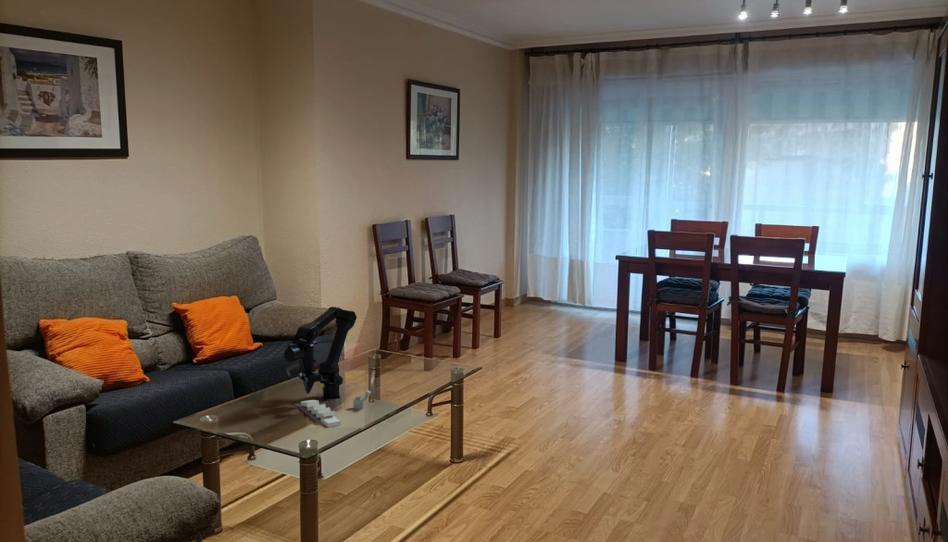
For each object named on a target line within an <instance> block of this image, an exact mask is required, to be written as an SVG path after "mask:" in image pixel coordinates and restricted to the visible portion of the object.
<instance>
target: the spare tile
mask: <svg viewBox="0 0 948 542" xmlns="http://www.w3.org/2000/svg"><path fill="white" fill-rule="evenodd" d="M300 403H301V406H306V407H308V406H314V405H320V401H319V400H316V399H309V400H303V401H302V400H301V401H300Z"/></svg>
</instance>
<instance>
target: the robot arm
mask: <svg viewBox="0 0 948 542" xmlns="http://www.w3.org/2000/svg"><path fill="white" fill-rule="evenodd" d="M357 317H358V316H357V314H356V312H355V311H353V310H346V309H342V308H340V307H338V306H329V308H327V309H326V310H325V312H324V313H322V314H321V315H320V316H318V317H317V318H315V319H314V320H313V321H311V322H308V323H307V322H306V323H304V324H302V325H300V326H299V327H298V328H297V330H296V333H295V335H294V337H293V340H292V342H291V343H290V344H288V345H287V348H285V350H284V352H283V357H284V359H285V360H286V361H287V362H289V363H291V362H295V361H297V362H296V363H293V364H292V365H290V366H287V367H286V368H285V370H286V373H287V375H288V377H290V378H295V377H296V376H298V377H297V378H299V379H300V380H301V381H302V385H303V387H304V391H305V393H306V394H305V395H309V394H311V391H312V389H313V386H314V384H315V383H317V382H319V383H320V384H323V386H322V388H321V390H322V391H321V395H322V398H323V399H324V400H335V399H336V400H337V399H341V396H340V386H341V385H342V384H343V382H344V378H343V377H342V376H341V375H340V374H339V373H340V366H339V361H340V357H341V356H342V355H341V354H342V352H343V349H344V345H345V342H346V339H347V335H348V333H349V331H350V330H351V329H352V328H353V327H354V326H355V324H356V321H357ZM334 320H335V325H336V330H335V333H334V336H333V340H332V342H331V345H330V347H329V348H330V349H329V352H328V355H327V359H326V360H325V361H324V362H322V361H321V362H320V364H319V367H318V369H316V368H315V363H316V362H317V359H316V358H315V346H316V345H318V344H319V343H318V341H316V339H317V337H319V335H320V332H321V330H323V329H324V328H326V327H327V326H328V325H329V324H331V322H333V321H334Z"/></svg>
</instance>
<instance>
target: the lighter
mask: <svg viewBox="0 0 948 542" xmlns="http://www.w3.org/2000/svg"><path fill="white" fill-rule="evenodd" d="M371 393H372V391H371V390H369V389H368V390H366V392H365V395H364V396H363V398H362V396H359V395H357V396H355V397H354V398H353V399H352V403H353V404H352V405H353V406H352V408H353V409H356V410H364V409H365V402H366V401H368V398H369V397H370V395H371Z"/></svg>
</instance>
